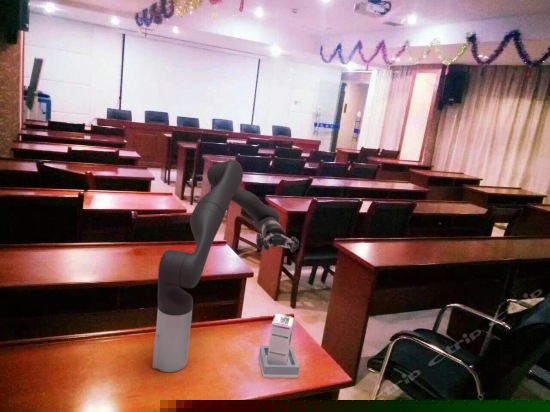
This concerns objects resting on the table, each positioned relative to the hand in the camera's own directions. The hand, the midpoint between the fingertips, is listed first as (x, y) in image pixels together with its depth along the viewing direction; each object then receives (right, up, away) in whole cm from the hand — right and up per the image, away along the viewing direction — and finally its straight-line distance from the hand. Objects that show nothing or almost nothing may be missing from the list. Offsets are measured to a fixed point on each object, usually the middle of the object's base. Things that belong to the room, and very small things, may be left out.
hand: (280, 248), depth 130 cm
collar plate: (-1, -34, -11) cm, 36 cm away
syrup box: (-1, -33, -11) cm, 35 cm away
